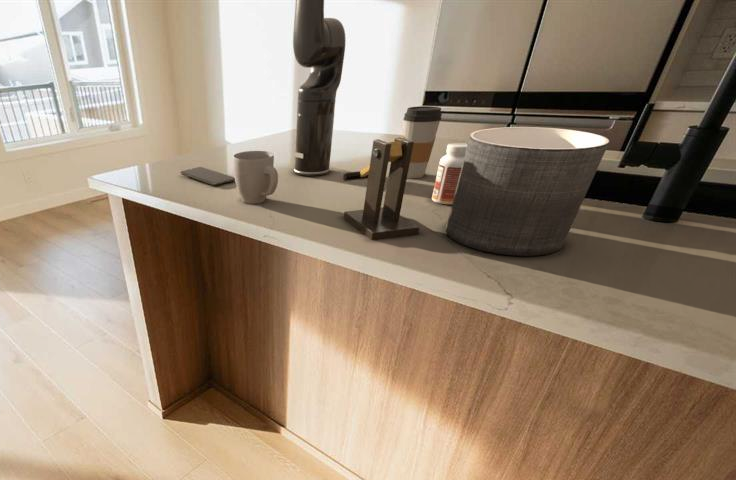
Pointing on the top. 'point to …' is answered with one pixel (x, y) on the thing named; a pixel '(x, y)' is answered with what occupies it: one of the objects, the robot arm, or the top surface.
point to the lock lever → (394, 155)
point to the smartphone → (207, 176)
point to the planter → (522, 188)
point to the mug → (255, 175)
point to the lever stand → (388, 217)
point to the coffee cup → (420, 136)
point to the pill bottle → (449, 173)
